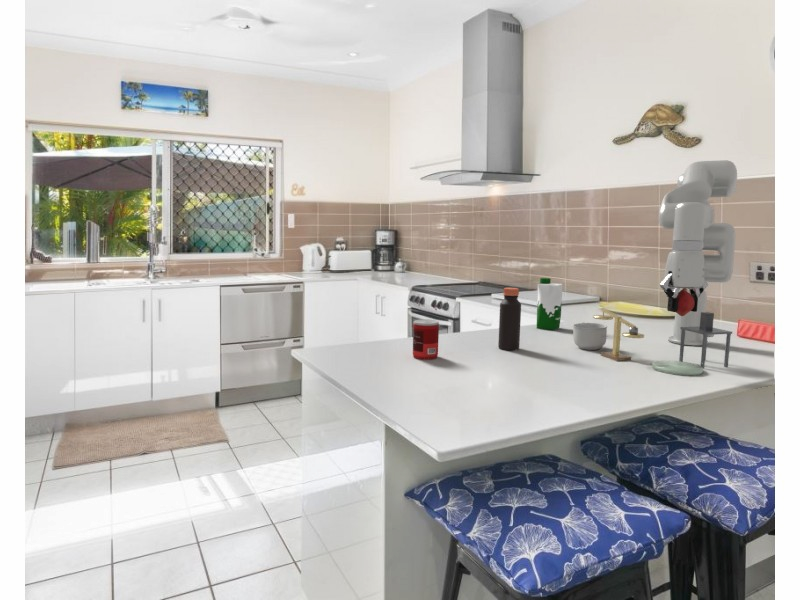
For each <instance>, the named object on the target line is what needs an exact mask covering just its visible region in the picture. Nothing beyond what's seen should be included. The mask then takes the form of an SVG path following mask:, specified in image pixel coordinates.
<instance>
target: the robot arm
mask: <svg viewBox="0 0 800 600" xmlns="http://www.w3.org/2000/svg"><path fill="white" fill-rule="evenodd" d="M737 183H738V170H737V166H736V165H735V163H734V162H732V160H700V161H695V162H693V163H691V164H689V165H688V166H687V167H686V168H685V170H684V173H682V174H681V175H679V176H678V178H677V184H676V185H677V187H676V188H674V189H671V190H670V191H668V192H667V193H666V194H665V195H664V197H663V199H662V200H661V204H660V207H659V211H658V222H659V225H660V227H662V228H663V229H666V230H673V232H672V233H673V234H672V244H671V245H672V246H671V247H672V248H671V251H670V252H669V253H668V254H667V259H666V263H665V268H664V275H663V280H662V281H661V282H660V283H659V286H660V287H661V289H662V290H663V292H664V293H665V296H666V297H667V309H666V310H667V312H671V313H674V324H673V335H672V336H669V337H668V341H669V342H670V343H673V344H677V345H680V344H681V332H682V329H680V328H681V327H698V326H700V318H701V312H706V306H707V296H708V295H707V292H706V290H705V289H707V287H708V285H709V283H720V284H721V283H728V282H729V281H730V280H731V279H732V276H733V271H734V270H733V269H734V259H735V249H736V230H735V227H734V226H733V225H732V224H730V223H726V222H725V223H724V222H714V220H715V210H714V209H713V206H712V205H711V203H710V202H709V199H710V198H729V197H731V196H733V195H734V193H735V192H736V189H737V185H738V184H737ZM703 251H706V252H708V251H710V252H711V251H712V252H717V253H718V254H705V253H704V252H703ZM683 288H686V289H687V292H688V293H689V294H691V296H692V297H693V298H694V301H695V304H694V308H693V309H692V310H691V311H690V312H688V313H687V314H686V315H684V316H680V315H679V314H677V313H676V312H677V310H678V298H676V297H677V295H678V292H680V291H681V290H682V289H683ZM713 337H715V334H714V335H708V337H707V338H713ZM702 343H703V334H699V333H695V332H691V331H687V330H685V340H684V346H695V347H697V346H699V347H700V346H701V347H702ZM708 344H709V342H708V340H707V345H708Z"/></svg>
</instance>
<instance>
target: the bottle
mask: <svg viewBox="0 0 800 600" xmlns="http://www.w3.org/2000/svg"><path fill="white" fill-rule="evenodd" d="M519 294H520V289H519V287H518V288H517V287H504V288H503V297H504V298H503V300H502V301H501V302H500V303H499V321H498V322H499V325H498V345H497V346H498V349H500V350H503V351H508V352H509V351H518V350H519V349H520V341H521V338H520V336H521V320H522V319H521V316H522V315H521V314H522V303H521V302H520V301H519V300H518V297H519Z"/></svg>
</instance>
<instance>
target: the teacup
mask: <svg viewBox="0 0 800 600" xmlns="http://www.w3.org/2000/svg"><path fill="white" fill-rule="evenodd" d="M572 327H573V329H572V330H573V331H572V332H573V334H572V335H573V336H572V337H573V342H574V345H576V346H577V348H579V349H581V350H588V351H590V350H592V351H593V350H594V351H596V350H600V349H601V348H602V347H604V346H605V344H606V343H607V333H608V332H607V331H608V330H607V329H608V326H607V324H605V323H604V324H603V323H598V322H580V323H574V324H573V325H572Z"/></svg>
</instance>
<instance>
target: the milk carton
mask: <svg viewBox="0 0 800 600" xmlns="http://www.w3.org/2000/svg"><path fill="white" fill-rule="evenodd" d="M551 280H552V279H551V278H549V277H541V278H539V283H537V304H536V306H537V309H536V329H537V330H538V329H539V330H548V331H556V330H557V329H559V328H560V325H561V318H562V304H563V303H562V302H563V301H562V300H563V283H556V282H554V283H553V282H551Z"/></svg>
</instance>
